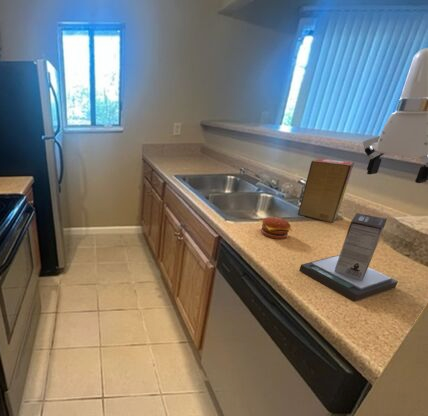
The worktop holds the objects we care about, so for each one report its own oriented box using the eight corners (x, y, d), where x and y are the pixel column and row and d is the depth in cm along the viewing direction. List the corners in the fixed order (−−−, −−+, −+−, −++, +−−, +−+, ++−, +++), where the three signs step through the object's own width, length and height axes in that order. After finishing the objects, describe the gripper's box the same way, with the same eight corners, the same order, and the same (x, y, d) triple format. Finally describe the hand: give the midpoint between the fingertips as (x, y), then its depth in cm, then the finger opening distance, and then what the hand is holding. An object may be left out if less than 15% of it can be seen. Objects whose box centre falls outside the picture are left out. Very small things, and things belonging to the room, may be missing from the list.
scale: (395, 287, 76) (399, 279, 75) (354, 301, 71) (357, 292, 70) (337, 260, 89) (339, 253, 88) (299, 270, 84) (301, 262, 83)
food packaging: (337, 217, 122) (355, 161, 113) (333, 223, 116) (351, 165, 108) (302, 209, 132) (316, 157, 123) (296, 214, 126) (310, 160, 117)
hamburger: (293, 239, 103) (297, 223, 101) (266, 239, 104) (270, 223, 102) (280, 228, 112) (283, 214, 110) (255, 228, 113) (258, 213, 110)
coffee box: (339, 260, 85) (356, 212, 79) (367, 268, 80) (387, 218, 74) (333, 271, 79) (350, 220, 73) (362, 281, 74) (383, 228, 69)
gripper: (486, 105, 57) (452, 184, 63) (384, 106, 73) (364, 169, 79) (467, 106, 55) (433, 188, 61) (365, 107, 70) (346, 172, 76)
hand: (394, 177), depth 70 cm, fingers open, 9 cm apart
